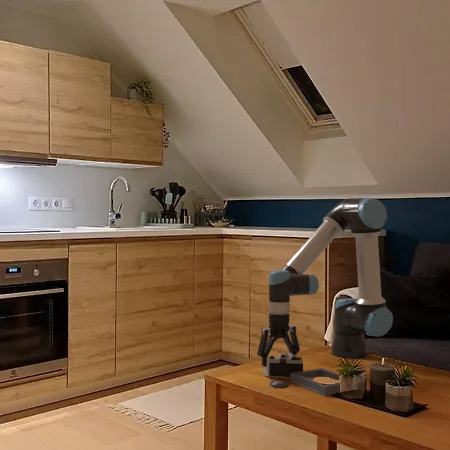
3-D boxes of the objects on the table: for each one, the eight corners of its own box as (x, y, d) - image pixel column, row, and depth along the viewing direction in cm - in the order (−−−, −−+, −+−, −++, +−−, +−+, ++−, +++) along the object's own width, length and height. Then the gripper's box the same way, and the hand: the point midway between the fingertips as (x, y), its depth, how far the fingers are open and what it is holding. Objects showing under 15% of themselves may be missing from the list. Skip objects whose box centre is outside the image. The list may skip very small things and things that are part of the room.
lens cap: (280, 382, 213) (280, 378, 213) (290, 387, 208) (290, 382, 208) (266, 385, 211) (266, 381, 210) (276, 389, 205) (276, 385, 205)
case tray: (321, 376, 221) (321, 367, 220) (357, 389, 204) (357, 380, 204) (290, 381, 214) (290, 373, 214) (324, 396, 197) (324, 387, 197)
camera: (303, 373, 225) (301, 348, 225) (304, 378, 217) (302, 353, 217) (268, 374, 226) (266, 350, 226) (267, 380, 218) (265, 355, 218)
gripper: (298, 308, 231) (297, 367, 232) (247, 313, 220) (246, 374, 220) (310, 311, 224) (309, 371, 225) (258, 316, 213) (258, 380, 214)
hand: (278, 373), depth 223 cm, fingers closed on camera, 10 cm apart
